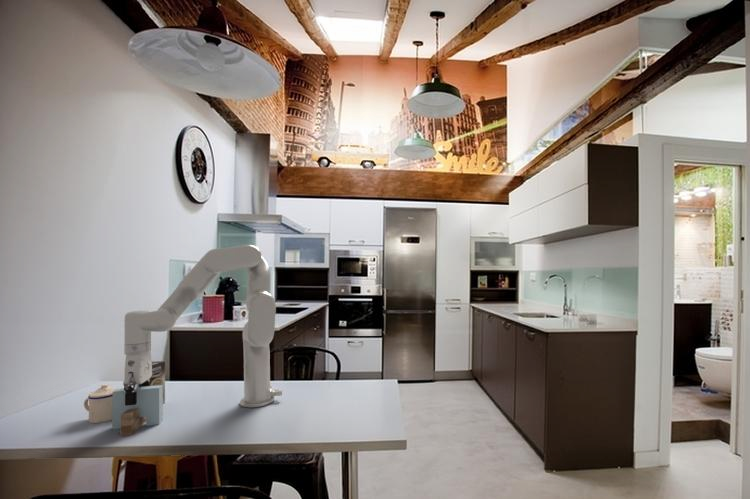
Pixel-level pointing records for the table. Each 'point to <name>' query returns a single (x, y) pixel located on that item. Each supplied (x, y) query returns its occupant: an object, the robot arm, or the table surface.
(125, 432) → the notched walnut block
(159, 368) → the coffee box
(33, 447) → the table surface
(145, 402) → the light blue arch block
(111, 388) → the teacup with lid
